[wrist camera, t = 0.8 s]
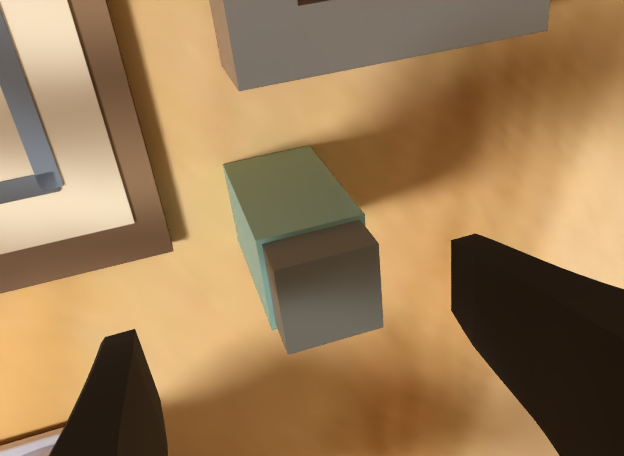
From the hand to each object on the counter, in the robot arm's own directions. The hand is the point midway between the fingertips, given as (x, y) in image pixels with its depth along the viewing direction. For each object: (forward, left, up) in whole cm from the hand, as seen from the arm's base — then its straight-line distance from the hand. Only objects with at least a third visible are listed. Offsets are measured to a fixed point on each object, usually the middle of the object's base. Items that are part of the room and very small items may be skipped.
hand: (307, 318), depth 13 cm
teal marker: (-2, -1, -10) cm, 10 cm away
